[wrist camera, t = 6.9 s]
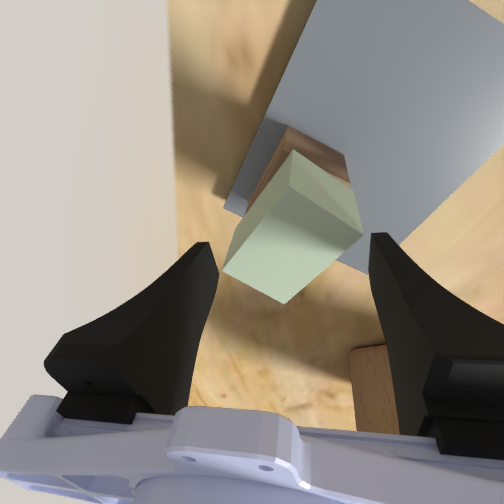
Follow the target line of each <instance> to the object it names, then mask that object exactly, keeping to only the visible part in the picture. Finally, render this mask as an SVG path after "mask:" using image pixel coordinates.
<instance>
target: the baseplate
mask: <svg viewBox="0 0 504 504" xmlns="http://www.w3.org/2000/svg"><path fill="white" fill-rule="evenodd" d="M287 126H290V127H292V128H294V129H296V130H298V131H300V132H302V133H304V134H305V135H307V136H309V137H311V138H313V139H315V140H317V141H319V142H321V143H323V144H325V145H326V146H328V147H330V148H332V149H334V150H336V151H338V152H340V153H342V154H344V157H345V161H346V166H347V171H348V175H349V180H350V185H349V188H350V189H352V190H353V191H354V194H355V198H356V202H357V207H358V211H359V215H360V220H361V224H362V228H363V233H364V235H363V236H362V237H361V238H360V239H359V240H357V241H356V242H355V243H354V244H353V245H352V246H351V247H349V248H348V249H347V250H346V251H345V252H344V253H343V254H341V255H340V256H339V257H338V258H337V259H336V260H337V261H339V262H342V263H344V264H346V265H348V266H350V267H352V268H355V269H357V270H359V271H361V272H363V273H366V274H369V272H368V265H369V252H370V239H371V233H378V232H387V233H388V234H389V235H390V236H391V237H392V238H393V239H394V241H395V242H396V243H397V244H398V245H399V244H400V243H401V242H402V241H403V240H404V239H405V238H406V237H408V236H409V235H410V234H411V233H412V232H413V231H414V230H415V229H416V228H417V227H418V226H419V225H420V224H421V223H422V222H423V221H424V220H425V219H426V218H427V217H428V216H429V215H430V214H431V213H432V212H434V211H435V210H436V209H437V208H438V207H439V206H440V205H441V204H442V203H443V202H444V201H445V200H446V199H447V198H448V197H449V196H450V195H451V194H452V193H453V192H454V191H455V190H456V189H457V188H458V187H459V186H461V185H462V184H463V183H464V182H465V181H466V180H467V179H468V178H469V177H470V176H471V175H472V174H473V173H474V172H475V171H476V170H477V169H478V168H479V167H480V166H481V165H482V164H483V163H484V162H485V161H487V160H488V159H489V158H490V157H491V156H492V155H493V154H494V153H495V152H496V151H497V150H498V149H499V148H500V147H501V146H502V145H503V144H504V24H503V23H501V22H500V21H498V20H497V19H495V18H494V17H492V16H491V15H489V14H488V13H486V12H485V11H483V10H482V9H480V8H479V7H477V6H476V5H474V4H473V3H471V2H470V1H468V0H316V3H315V5H314V7H313V9H312V12H311V14H310V16H309V18H308V20H307V23H306V25H305V27H304V29H303V31H302V34H301V36H300V38H299V40H298V43H297V45H296V47H295V49H294V51H293V54H292V56H291V58H290V60H289V62H288V65H287V67H286V69H285V71H284V74H283V76H282V78H281V80H280V82H279V85H278V87H277V89H276V91H275V93H274V96H273V98H272V100H271V102H270V105H269V107H268V109H267V111H266V113H265V116H264V118H263V120H262V122H261V124H260V127H259V129H258V131H257V133H256V136H255V138H254V140H253V142H252V144H251V147H250V149H249V151H248V153H247V155H246V158H245V160H244V162H243V164H242V167H241V169H240V171H239V173H238V175H237V178H236V180H235V182H234V184H233V186H232V189H231V191H230V193H229V195H228V197H227V200H226V202H225V204H224V207H223V208H224V209H226V210H228V211H230V212H233V213H235V214H237V215H239V216H241V217H244V215H245V212H246V208H247V205H248V202H249V200H250V198H251V196H252V194H253V192H254V190H255V188H256V186H257V184H258V182H259V180H260V178H261V176H262V174H263V172H264V171H265V169H266V167H267V165H268V163H269V161H270V159H271V157H272V155H273V153H274V151H275V149H276V147H277V145H278V143H279V141H280V139H281V137H282V135H283V134H284V132H285V130H286V128H287Z"/></svg>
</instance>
